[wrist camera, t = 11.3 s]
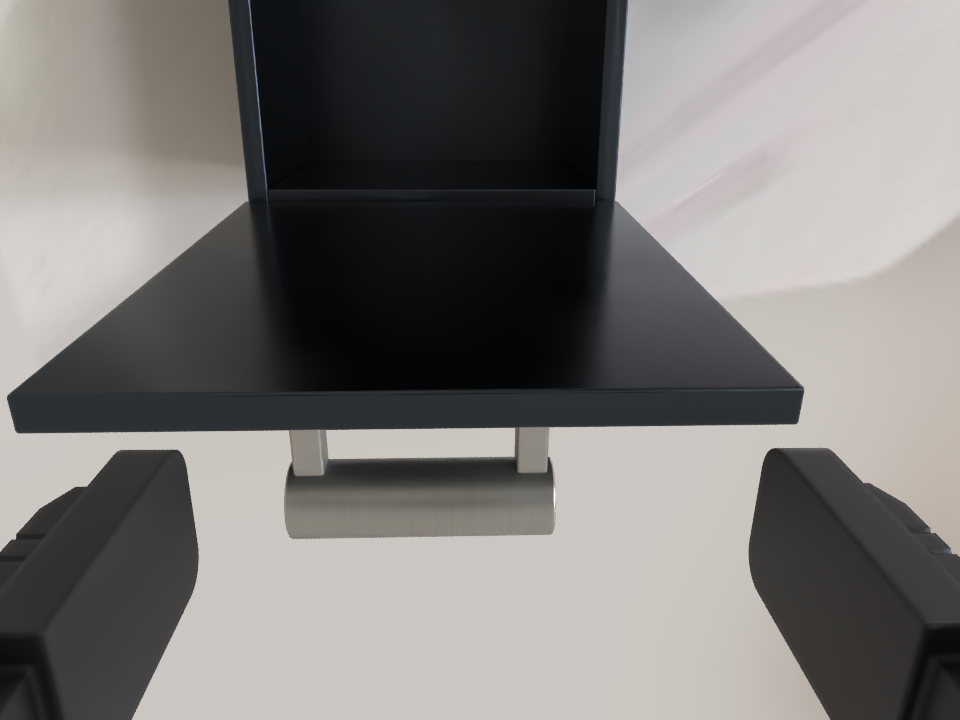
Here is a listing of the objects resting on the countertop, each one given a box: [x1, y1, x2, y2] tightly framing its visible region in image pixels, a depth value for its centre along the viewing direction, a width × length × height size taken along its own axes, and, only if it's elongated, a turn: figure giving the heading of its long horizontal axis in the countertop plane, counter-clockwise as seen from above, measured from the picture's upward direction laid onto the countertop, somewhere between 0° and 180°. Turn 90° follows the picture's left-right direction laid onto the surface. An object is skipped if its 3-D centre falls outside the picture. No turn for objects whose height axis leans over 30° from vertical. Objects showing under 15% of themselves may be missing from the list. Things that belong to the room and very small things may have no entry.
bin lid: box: [7, 201, 804, 539], centre depth 23 cm, size 17×15×5 cm
